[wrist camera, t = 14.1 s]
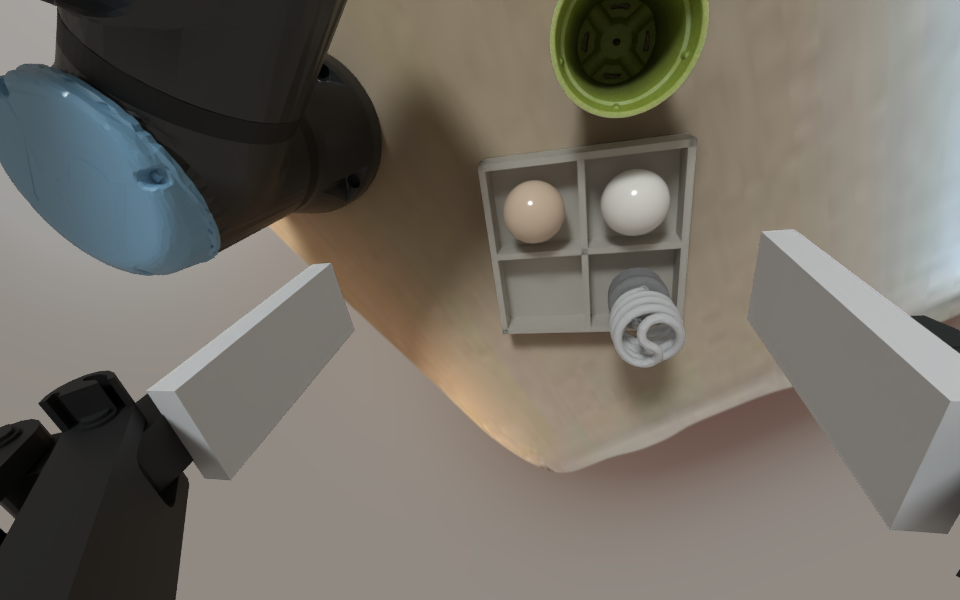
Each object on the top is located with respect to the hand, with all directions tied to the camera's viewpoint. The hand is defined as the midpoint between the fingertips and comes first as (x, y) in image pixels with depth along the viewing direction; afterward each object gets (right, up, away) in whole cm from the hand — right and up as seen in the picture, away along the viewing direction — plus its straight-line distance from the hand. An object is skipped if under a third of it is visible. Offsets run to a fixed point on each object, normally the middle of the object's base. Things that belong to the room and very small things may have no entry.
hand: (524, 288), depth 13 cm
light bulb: (+14, +2, +29) cm, 32 cm away
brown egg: (+4, +9, +27) cm, 29 cm away
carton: (+9, +6, +28) cm, 30 cm away
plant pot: (+9, +20, +20) cm, 30 cm away
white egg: (+12, +9, +25) cm, 29 cm away
